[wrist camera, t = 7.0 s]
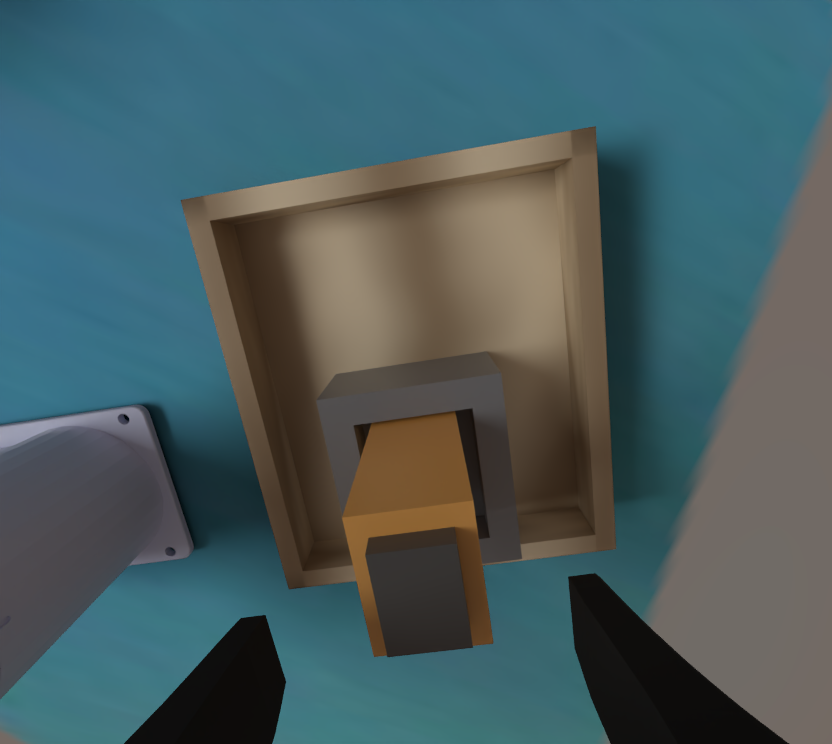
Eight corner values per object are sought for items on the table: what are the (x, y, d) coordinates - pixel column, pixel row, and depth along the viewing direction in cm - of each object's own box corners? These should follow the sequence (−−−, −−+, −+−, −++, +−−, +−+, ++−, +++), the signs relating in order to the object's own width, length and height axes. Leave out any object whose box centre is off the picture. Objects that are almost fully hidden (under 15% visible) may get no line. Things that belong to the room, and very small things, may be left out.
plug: (393, 503, 18) (371, 679, 10) (375, 411, 17) (336, 534, 9) (466, 493, 17) (497, 665, 10) (452, 400, 16) (476, 515, 9)
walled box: (306, 544, 22) (288, 589, 19) (220, 209, 18) (180, 200, 15) (589, 508, 21) (616, 548, 18) (566, 148, 17) (595, 126, 14)
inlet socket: (368, 525, 20) (356, 579, 17) (335, 373, 18) (316, 400, 15) (505, 507, 20) (522, 559, 16) (486, 351, 18) (501, 372, 15)
